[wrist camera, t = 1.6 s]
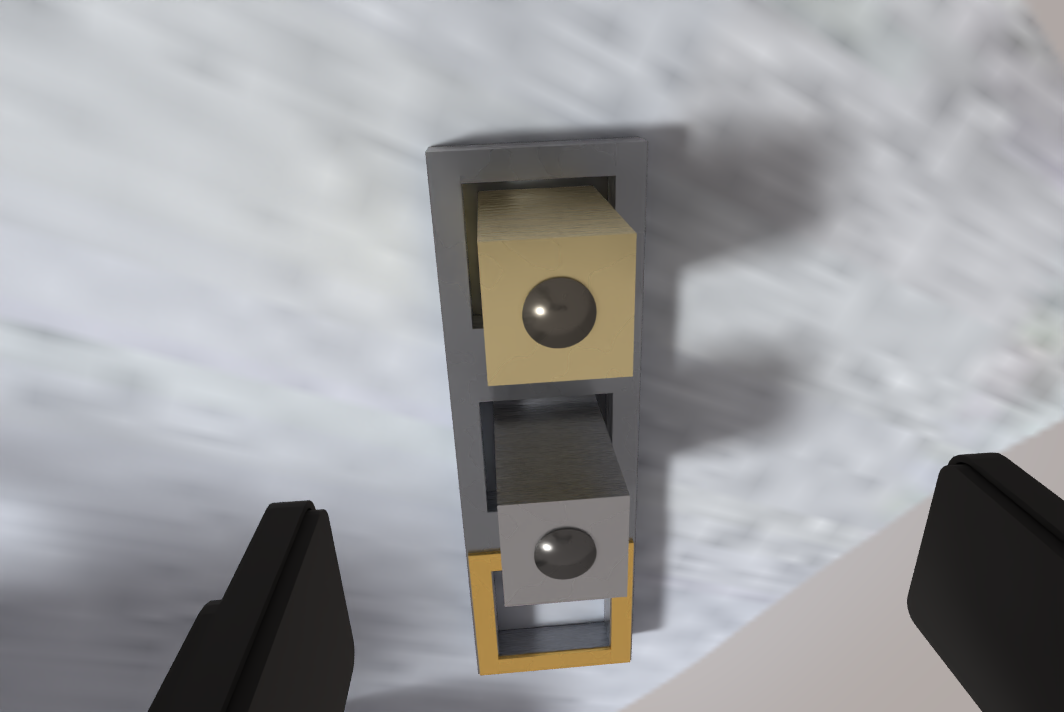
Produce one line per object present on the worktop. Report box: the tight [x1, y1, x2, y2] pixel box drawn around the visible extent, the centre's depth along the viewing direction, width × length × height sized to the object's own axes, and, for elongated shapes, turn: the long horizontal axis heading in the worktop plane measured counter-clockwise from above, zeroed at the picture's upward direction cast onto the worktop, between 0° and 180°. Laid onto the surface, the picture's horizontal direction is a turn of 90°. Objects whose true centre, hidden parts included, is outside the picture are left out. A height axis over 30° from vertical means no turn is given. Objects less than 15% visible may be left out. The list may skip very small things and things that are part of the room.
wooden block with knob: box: [477, 185, 637, 386], centre depth 23 cm, size 4×4×8 cm
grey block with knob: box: [493, 394, 630, 607], centre depth 27 cm, size 4×4×8 cm
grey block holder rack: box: [425, 137, 648, 675], centre depth 29 cm, size 26×8×2 cm, turn 2°
